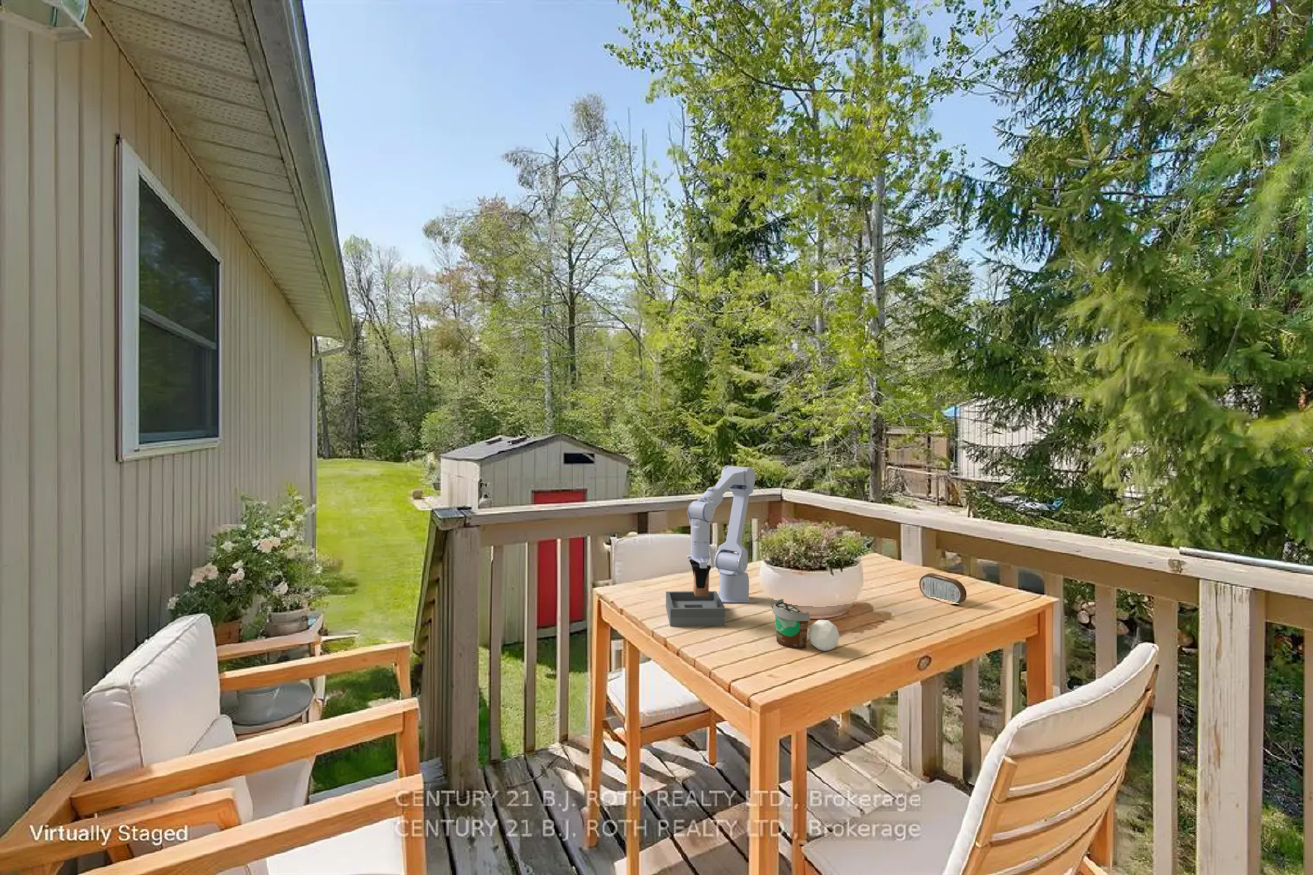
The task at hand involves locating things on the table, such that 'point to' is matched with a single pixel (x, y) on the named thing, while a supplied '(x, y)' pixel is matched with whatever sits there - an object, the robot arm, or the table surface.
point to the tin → (942, 588)
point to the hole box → (694, 609)
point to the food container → (790, 625)
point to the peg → (701, 591)
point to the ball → (823, 635)
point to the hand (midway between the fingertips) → (699, 585)
